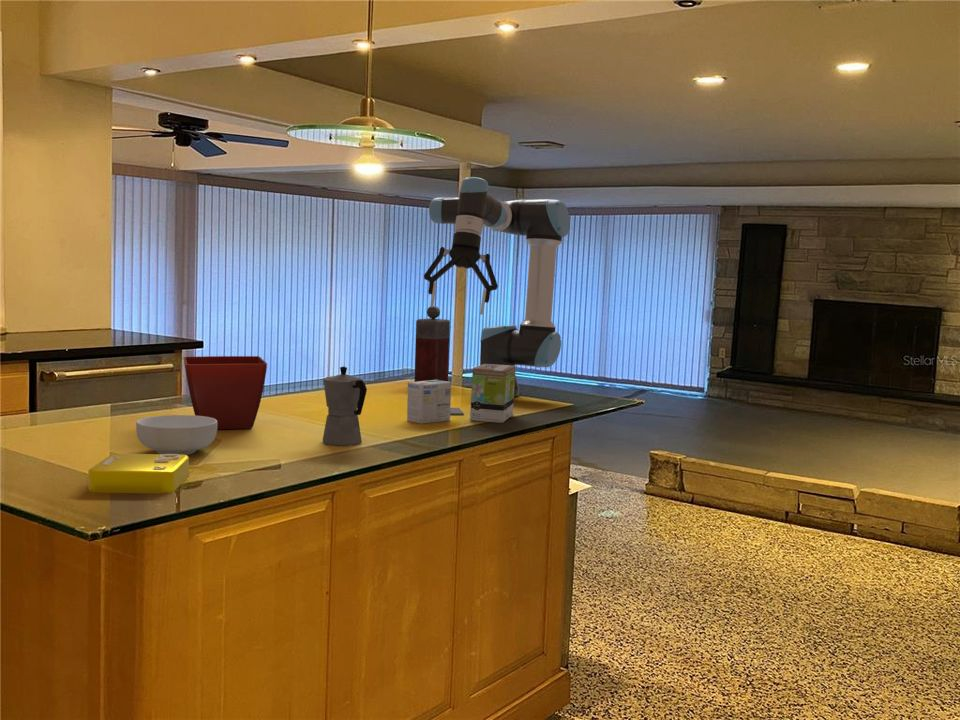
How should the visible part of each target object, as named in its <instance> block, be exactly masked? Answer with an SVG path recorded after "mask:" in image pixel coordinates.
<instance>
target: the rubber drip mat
mask: <svg viewBox="0 0 960 720" xmlns="http://www.w3.org/2000/svg"><path fill="white" fill-rule="evenodd" d="M450 416H464V412H463V410H462V409H460V407H450Z"/></svg>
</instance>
